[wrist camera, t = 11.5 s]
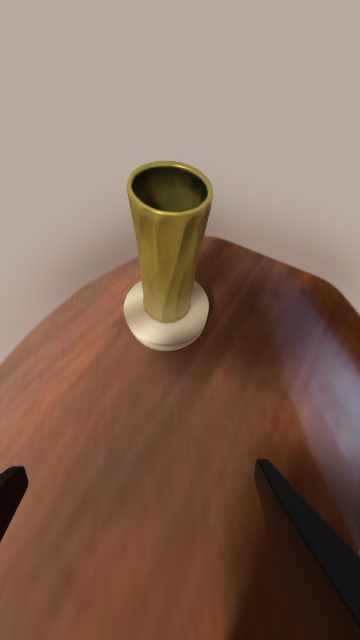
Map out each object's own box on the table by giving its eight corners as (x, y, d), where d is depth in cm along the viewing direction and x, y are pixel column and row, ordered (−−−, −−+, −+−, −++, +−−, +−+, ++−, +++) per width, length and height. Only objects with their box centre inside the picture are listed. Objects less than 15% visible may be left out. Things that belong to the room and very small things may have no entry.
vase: (172, 333, 23) (183, 237, 10) (132, 306, 24) (95, 186, 11) (199, 298, 25) (238, 182, 12) (162, 275, 26) (160, 145, 13)
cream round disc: (221, 328, 26) (225, 317, 24) (148, 367, 24) (145, 359, 21) (182, 276, 31) (182, 262, 28) (118, 304, 28) (111, 291, 26)
